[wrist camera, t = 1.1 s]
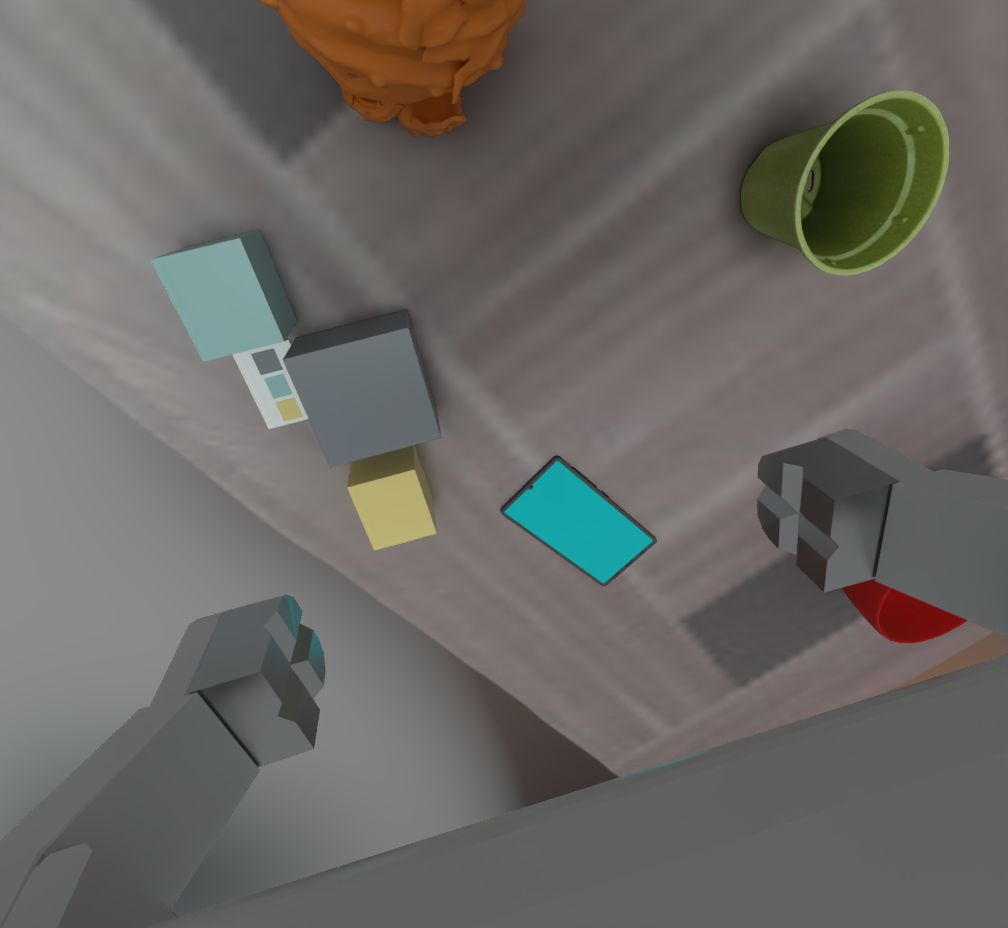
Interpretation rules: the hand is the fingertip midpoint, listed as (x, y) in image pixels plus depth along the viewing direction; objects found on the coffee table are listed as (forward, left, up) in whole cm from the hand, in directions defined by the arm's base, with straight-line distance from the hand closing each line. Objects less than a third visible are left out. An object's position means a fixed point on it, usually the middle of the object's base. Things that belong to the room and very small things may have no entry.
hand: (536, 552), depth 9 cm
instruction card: (+5, -13, -32) cm, 35 cm away
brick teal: (-2, -13, -32) cm, 34 cm away
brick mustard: (+15, -8, -32) cm, 36 cm away
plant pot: (0, +25, -32) cm, 41 cm away
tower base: (+6, -7, -32) cm, 33 cm away
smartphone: (+25, +7, -32) cm, 42 cm away
